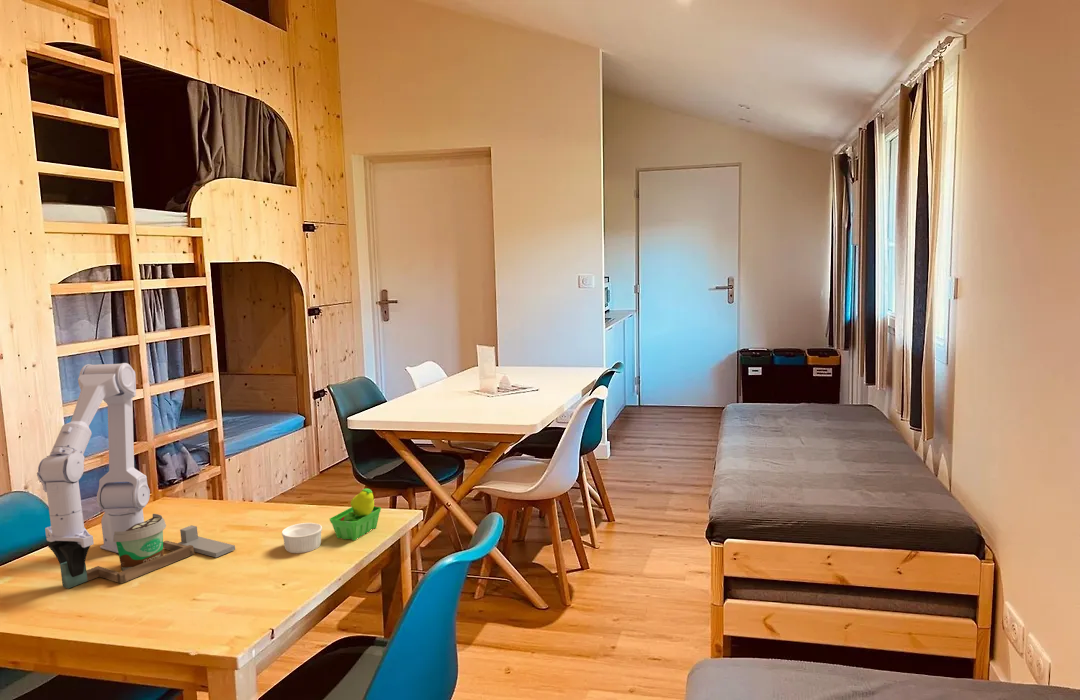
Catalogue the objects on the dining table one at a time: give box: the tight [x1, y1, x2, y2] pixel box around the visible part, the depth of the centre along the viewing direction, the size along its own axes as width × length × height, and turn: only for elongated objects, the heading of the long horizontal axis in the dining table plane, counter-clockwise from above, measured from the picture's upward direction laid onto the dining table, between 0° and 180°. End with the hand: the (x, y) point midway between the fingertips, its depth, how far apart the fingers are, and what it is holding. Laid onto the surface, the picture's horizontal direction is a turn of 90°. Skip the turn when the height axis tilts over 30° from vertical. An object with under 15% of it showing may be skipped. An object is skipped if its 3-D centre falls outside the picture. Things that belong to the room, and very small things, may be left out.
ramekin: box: [281, 522, 323, 554], centre depth 174 cm, size 9×9×4 cm
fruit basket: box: [329, 488, 382, 541], centre depth 181 cm, size 11×9×11 cm
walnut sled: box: [59, 540, 195, 589], centre depth 164 cm, size 10×24×5 cm, turn 150°
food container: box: [113, 513, 167, 572], centre depth 166 cm, size 12×6×10 cm, turn 166°
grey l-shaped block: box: [177, 525, 236, 558], centre depth 175 cm, size 14×5×4 cm, turn 60°
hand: (73, 573), depth 158 cm, fingers open, 2 cm apart
